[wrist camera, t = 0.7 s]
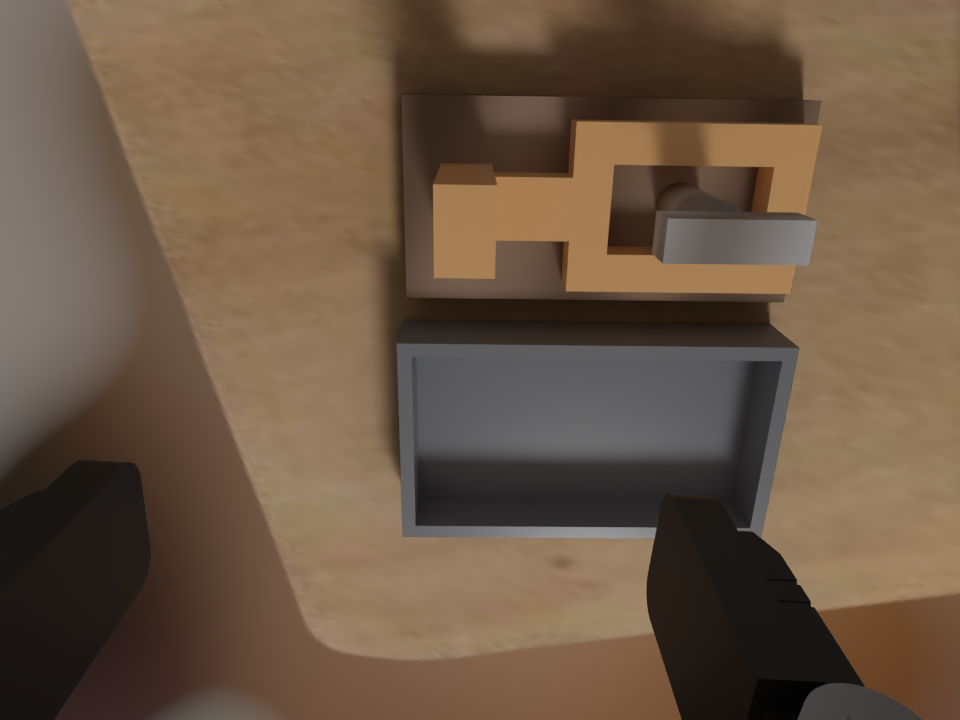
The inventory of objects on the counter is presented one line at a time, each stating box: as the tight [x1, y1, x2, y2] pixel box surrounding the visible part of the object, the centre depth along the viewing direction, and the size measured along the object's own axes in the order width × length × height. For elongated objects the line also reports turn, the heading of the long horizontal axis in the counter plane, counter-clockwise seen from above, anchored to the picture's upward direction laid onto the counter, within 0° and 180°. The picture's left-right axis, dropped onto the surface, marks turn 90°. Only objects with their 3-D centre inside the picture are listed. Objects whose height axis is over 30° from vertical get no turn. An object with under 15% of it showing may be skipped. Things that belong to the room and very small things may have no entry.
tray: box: [397, 320, 799, 538], centre depth 32 cm, size 17×10×3 cm, turn 89°
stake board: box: [401, 94, 821, 302], centre depth 25 cm, size 16×8×8 cm, turn 89°
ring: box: [433, 119, 822, 294], centre depth 25 cm, size 14×6×6 cm, turn 89°
